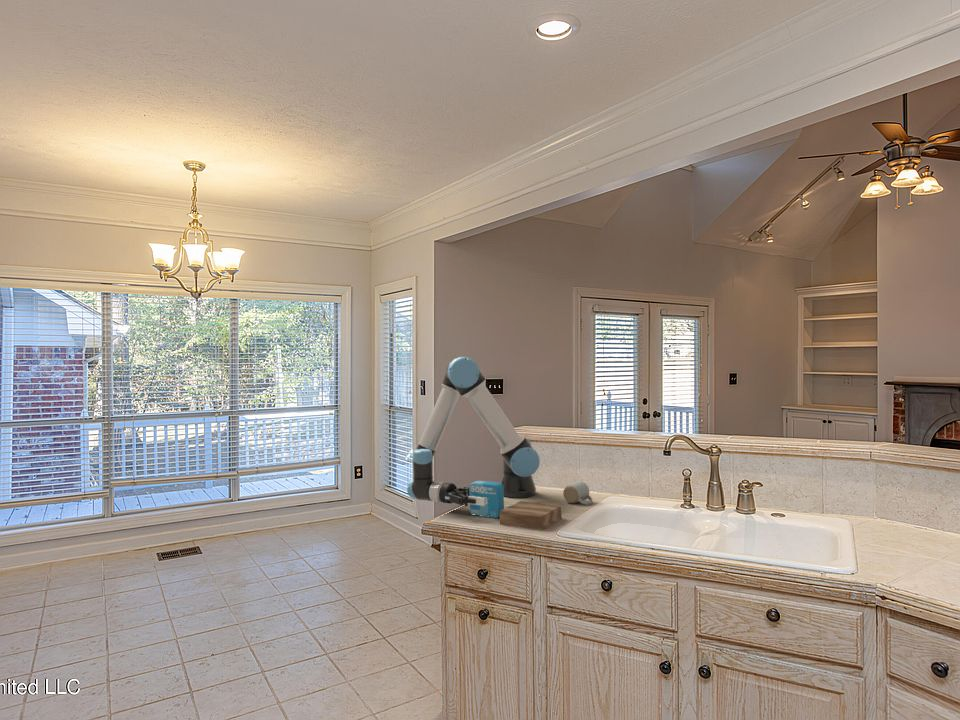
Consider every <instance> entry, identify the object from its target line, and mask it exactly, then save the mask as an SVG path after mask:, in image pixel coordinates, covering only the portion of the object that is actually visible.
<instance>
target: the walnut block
mask: <svg viewBox="0 0 960 720" xmlns="http://www.w3.org/2000/svg"><path fill="white" fill-rule="evenodd" d="M499 513H500V516H499V525H501V524H502V525H503V526H510V527H516V528H522V529H529V530H530V529H531V530H538V531H543V530H545V529H547V528H548V527H550V526H552V525H554V524H555V523H557V522H558V521H560V520H562V514H563V513H562V505H559V504H557V505H556V504H551V503H549V504H548V503H540V502H533V501H525V500H524V501H523V500H520V501H518V502H515V503H514V504H511V505H509V506H507V507H504V509H503V510H501V511H499ZM502 525H501V526H502Z"/></svg>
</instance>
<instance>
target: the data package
mask: <svg viewBox="0 0 960 720" xmlns="http://www.w3.org/2000/svg"><path fill="white" fill-rule="evenodd" d="M501 483H502V482H497V481H486V480H485V481H484V480H476V481H473V482H471V483H470V484H469V485H468V488H469V496H473V497H481V498H485V506H480V505H472V504H469V513H470V515H472V514H475V515H482V516H489V517H494V518H493V519H497V518H500V513H499V511H501V510H503V509H505V499H504V498H505V496H504V489H503V485H502V484H501ZM489 517H488V518H489Z"/></svg>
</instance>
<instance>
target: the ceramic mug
mask: <svg viewBox="0 0 960 720" xmlns="http://www.w3.org/2000/svg"><path fill="white" fill-rule="evenodd" d="M563 498H564V500H565V501H566V502H567V503H569V504H577V503H580V504H582V505H585V506H588V505H589V506H590V505H591V504H592V503H593V498H592V496H590V489H589V486H588V485H587V484H586V483H585V482H584V481H583V480H578V481H574V482H572V483H571V484H568V485H567V486H565V488H564V489H563ZM587 500H588V501H587Z"/></svg>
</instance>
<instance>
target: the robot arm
mask: <svg viewBox="0 0 960 720" xmlns="http://www.w3.org/2000/svg"><path fill="white" fill-rule="evenodd" d="M479 368H480V367H479V366H478V364H477V362H476V361H475V360H474V359H472V358H470V357H468V356H458V357H455V358H453V359H451V360H450V361H449V362H448V364H447V366H446V369H445V374H444V378H443V379H442V382H441V387H442V388H441V390H440V393H439V395H438V398H437V400H436V403H435V405H434V407H433V409H432V412H431V413H430V417H429V419H428V421H427V422H426V423H427V424H426V425H425V429H424V430H423V433H422V435H421V438H420V440H419V442H418V445H417V447H416V449H414V450H413V452H412V467H413V469H412V470H413V471H412V472H413V479H411V480H410V481H409V482H408V484H407V485H408V486H407V488H406V489H407V490H406V491H407V495H408V496H409V497H410V498H412V499H415V500H419V501H427V502H428V501H429V502H436V504H439V503H443V504H456V505H459V506H464V507H468V505H470V504H472V505H480V506H485V498H481V497H473V496H469V486H464V487H463V488H462V487H457V485H456V484H455V483H452V482H445V481H434V476H433V471H434V470H433V458H434V456H435V453H436V451H437V448H438V446H439V444H440V442H441V439H442V437H443V434H444V432H445V429H446V428H447V425H448V423H449V420H450V418H451V416H452V413H453V411H454V409H455V407H456V404H457V402H458V400H459V397H460V396H461V397H463V398H467V400H468V401H469V403H470V404H471V406H472V407H473V409H474V410H475V412H476V414H478V416H479V417H480V418H481V421H482V422H483V424H485V426H486V428H487V429H488V430H489V432H490V434H491V435H492V437H493V438H494V439H495V441H496V442H497V444H498V446H500V452H499V453H500V455H501V456H502V459H503V460H502V461H503V463H502V464H503V465H502V466H503V467H502V469H503V471H502V472H503V477H502V480H501V482H500V483H501V484H502V485H503V489H504V497H505V496H506V498H512V497H514V499H515V498H516V499H520V498H521V499H522V498H529V497H532V496H533V497H534V496H535V495H536V494H537V488H536V485H535V483H534V480H533V475H534V474H535V473H536V472H537V471H538V470H539V467H540V463H541V459H540V456H539V453H538V452H537V451H536V450H535V449H534V448H533V446H532V443H531V439H529V438H526V436H524V435H522V434H519V433H518V432H517V430H516V429H515V427H514V426H513V424H512V423H511V421H510V420H509V419H508V417H507V415H506V414H505V411H503V410H502V408H501V407H500V405H499V404H498V402H497V401H496V400H495V398H494V396H493V395H492V393H491V392H490V390H489V389H488V388H487V386H486V381H487V380H486V378H485V376H484V375H483V373H482V372H481V371H480V369H479Z"/></svg>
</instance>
